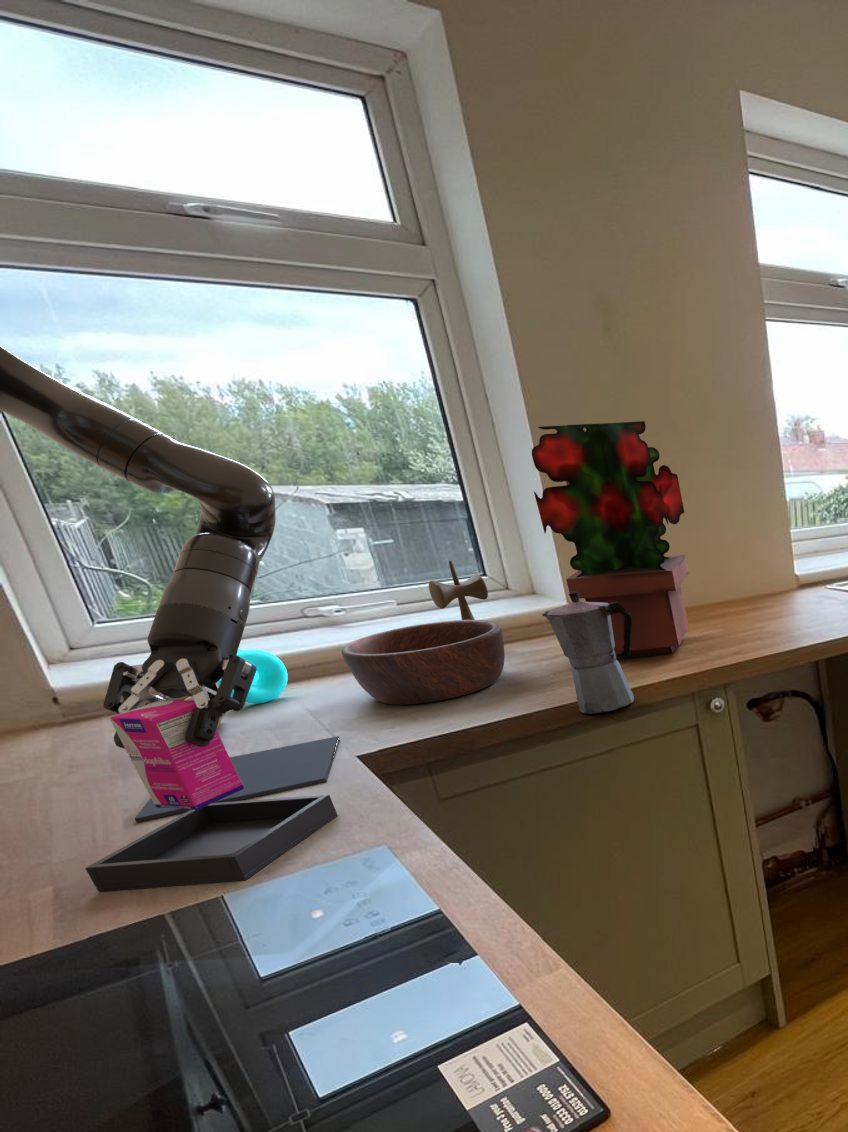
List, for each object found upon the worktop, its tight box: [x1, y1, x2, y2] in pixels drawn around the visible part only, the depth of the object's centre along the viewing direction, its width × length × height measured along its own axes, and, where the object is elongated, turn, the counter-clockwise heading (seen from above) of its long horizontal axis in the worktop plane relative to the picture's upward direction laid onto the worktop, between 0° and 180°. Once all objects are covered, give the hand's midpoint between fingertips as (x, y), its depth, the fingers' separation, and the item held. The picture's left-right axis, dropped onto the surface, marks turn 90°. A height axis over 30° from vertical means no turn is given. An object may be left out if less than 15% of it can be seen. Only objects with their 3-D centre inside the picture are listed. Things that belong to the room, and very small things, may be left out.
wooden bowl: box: [341, 619, 506, 706], centre depth 152 cm, size 25×25×10 cm
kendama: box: [428, 560, 489, 620], centre depth 173 cm, size 6×10×20 cm, turn 142°
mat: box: [134, 736, 340, 823], centre depth 118 cm, size 20×20×1 cm
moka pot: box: [541, 592, 635, 715], centre depth 137 cm, size 10×15×20 cm, turn 88°
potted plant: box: [531, 420, 690, 660], centre depth 165 cm, size 22×22×45 cm
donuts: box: [218, 648, 289, 705], centre depth 150 cm, size 10×10×10 cm
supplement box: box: [108, 699, 245, 810], centre depth 92 cm, size 6×6×12 cm
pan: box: [84, 794, 339, 893], centre depth 97 cm, size 16×16×3 cm
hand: (161, 745), depth 90 cm, fingers closed on supplement box, 6 cm apart
